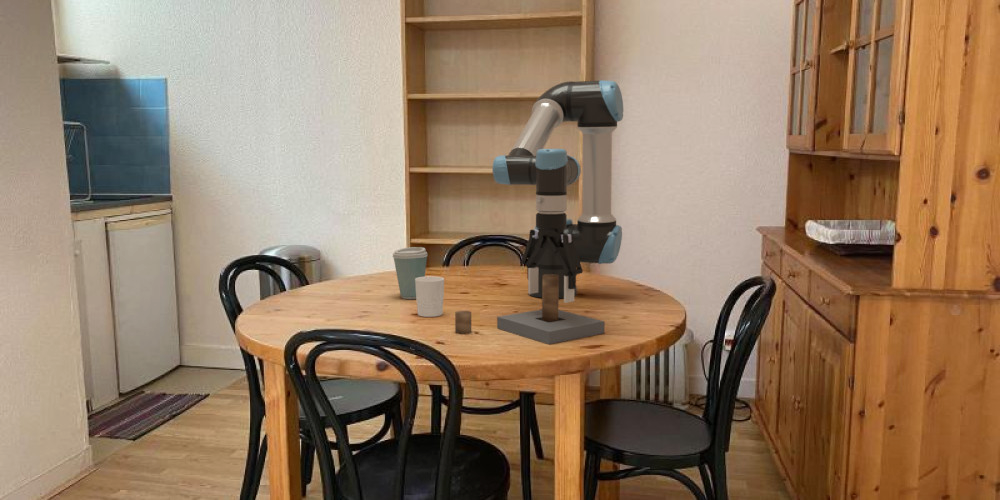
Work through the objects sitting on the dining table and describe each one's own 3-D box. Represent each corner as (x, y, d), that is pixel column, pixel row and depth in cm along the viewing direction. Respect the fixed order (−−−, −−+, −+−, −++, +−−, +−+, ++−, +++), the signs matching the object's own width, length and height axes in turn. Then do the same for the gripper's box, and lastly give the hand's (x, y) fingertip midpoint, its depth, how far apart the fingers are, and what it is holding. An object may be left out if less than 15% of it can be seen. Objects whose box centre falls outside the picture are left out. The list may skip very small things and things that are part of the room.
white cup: (422, 318, 205) (421, 282, 204) (411, 313, 212) (410, 277, 211) (449, 315, 209) (448, 279, 207) (437, 310, 216) (437, 275, 214)
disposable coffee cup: (413, 302, 227) (413, 252, 225) (385, 298, 232) (384, 249, 230) (435, 296, 236) (434, 248, 234) (407, 293, 241) (407, 245, 239)
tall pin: (538, 330, 192) (539, 275, 190) (550, 328, 194) (551, 273, 193) (549, 333, 189) (549, 277, 187) (561, 331, 191) (562, 275, 189)
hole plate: (497, 328, 194) (497, 316, 194) (551, 318, 205) (551, 307, 205) (548, 344, 178) (548, 331, 178) (604, 333, 189) (604, 321, 189)
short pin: (452, 331, 191) (452, 312, 190) (465, 329, 193) (465, 309, 193) (461, 334, 188) (461, 314, 187) (474, 332, 190) (474, 312, 189)
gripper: (507, 209, 195) (508, 291, 198) (574, 217, 176) (573, 307, 179) (530, 207, 200) (530, 287, 203) (598, 215, 180) (596, 303, 183)
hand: (550, 297), depth 191 cm, fingers open, 13 cm apart
